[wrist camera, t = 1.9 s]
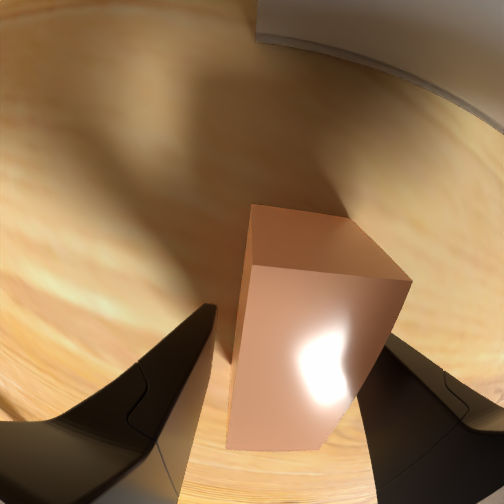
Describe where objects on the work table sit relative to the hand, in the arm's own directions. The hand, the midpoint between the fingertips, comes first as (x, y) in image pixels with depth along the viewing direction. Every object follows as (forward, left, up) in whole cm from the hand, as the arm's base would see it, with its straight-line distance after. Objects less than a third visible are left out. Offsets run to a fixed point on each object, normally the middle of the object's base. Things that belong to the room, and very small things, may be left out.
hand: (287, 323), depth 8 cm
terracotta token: (0, 0, -1) cm, 1 cm away
